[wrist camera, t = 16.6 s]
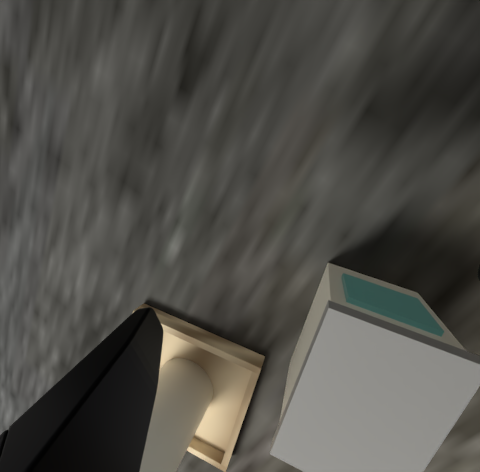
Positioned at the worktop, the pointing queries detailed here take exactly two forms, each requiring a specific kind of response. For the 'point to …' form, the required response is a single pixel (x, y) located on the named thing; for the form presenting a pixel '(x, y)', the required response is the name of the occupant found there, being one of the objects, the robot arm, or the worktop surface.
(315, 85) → the worktop surface
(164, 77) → the worktop surface
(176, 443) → the cartridge
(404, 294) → the box
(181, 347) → the refill tray
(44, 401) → the robot arm
